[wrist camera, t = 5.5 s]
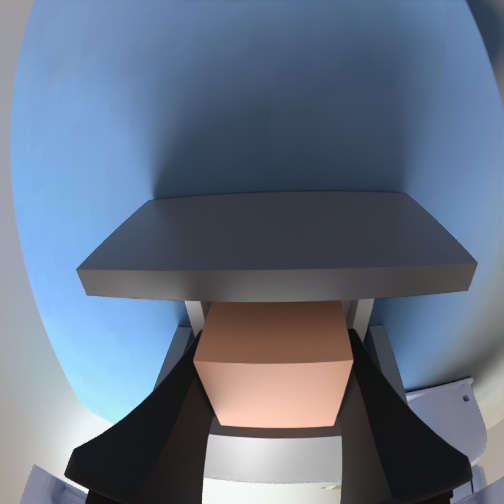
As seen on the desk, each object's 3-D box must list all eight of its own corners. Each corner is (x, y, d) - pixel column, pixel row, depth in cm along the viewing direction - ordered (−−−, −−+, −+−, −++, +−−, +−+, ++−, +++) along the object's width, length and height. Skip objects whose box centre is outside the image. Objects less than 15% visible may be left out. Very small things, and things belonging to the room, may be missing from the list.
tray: (405, 193, 11) (477, 262, 6) (369, 354, 17) (385, 432, 11) (148, 200, 13) (75, 269, 7) (192, 355, 18) (169, 430, 13)
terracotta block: (326, 352, 13) (333, 425, 9) (234, 354, 13) (221, 425, 10) (335, 277, 10) (353, 360, 7) (218, 280, 11) (192, 360, 8)
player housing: (383, 324, 16) (413, 424, 10) (352, 408, 21) (359, 477, 15) (177, 326, 17) (141, 422, 11) (208, 408, 23) (194, 476, 16)
